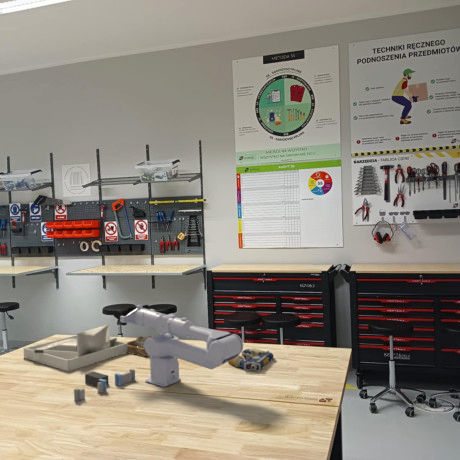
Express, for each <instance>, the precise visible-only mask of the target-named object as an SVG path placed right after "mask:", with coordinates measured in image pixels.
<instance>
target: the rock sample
mask: <svg viewBox="0 0 460 460" xmlns="http://www.w3.org/2000/svg"><path fill="white" fill-rule="evenodd" d="M147 338H149V337H148V336H142V335H139V336H137V338H136V339H135V340H136V342H135V344H136V345H137V346H138V347H139V348H144V349H145V347H144V344H145V340H146V339H147Z"/></svg>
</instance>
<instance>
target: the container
mask: <svg viewBox="0 0 460 460" xmlns="http://www.w3.org/2000/svg"><path fill="white" fill-rule="evenodd" d="M110 334H111V333H110V324H105V325H102V326H98V327H96V328H95V327H94V328H91V329H89V330H85V331H83V332H82V331H81V332H78V333H76V335H77V339H72V338H70V339H65V340H62V341H59V342H55V343H52V344H49V345H46V346H42V347H39V348H36V349H34V350H33V360H38V361H40V359H39V353H45V354H49V355H52V356H56V357H59V358H63V359H67V360H69V359H73V358H76V357H80V356H83V355H87V354H90V353H94V352H97V351H101V350H104V349H108V348H111V347H114V346H115V340H116V341H118V338H117V337H111V336H110Z"/></svg>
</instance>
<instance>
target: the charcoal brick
mask: <svg viewBox="0 0 460 460" xmlns="http://www.w3.org/2000/svg"><path fill="white" fill-rule="evenodd" d="M99 379H104V380H106V386H108V385H109V375H107V374H104V373H101V372H97V371H90V372H87V373H85V374H84V381H85V382H84V383H85V384H87V385H91V386H93V387H97V383H99V382H101V381H99Z"/></svg>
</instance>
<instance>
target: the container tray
mask: <svg viewBox="0 0 460 460" xmlns="http://www.w3.org/2000/svg"><path fill="white" fill-rule="evenodd" d="M70 338H72V339H77V334H76V335H71V336H67V337H64V338H59V339H56V340H51V341H46V342H43V343H40V344H34V345H31V346H26V347H23V358H24V359H26V360H30V361H33V362H36V363H40V364H43V365H45V364H46V366H49V367H53V368H56V369H58V368H59V370H62V371H66V372H71V371H74V370H77V369H80V368H81V369H82V368H84V367H86V366H90V365H93V364H96V363H95V362H97V363H100V362H103V361H106V360H109V359H112V358H111V357H113V358H115V357H114V356H116V357H118V356H117V355H119V356H121V355H120V354H122V355H124V354H123V353H125V354H128V353H127V352H128V343H127V342H125V341H120V340H117V341H116V340H115V346H114V347H111V348H108V349H104V350H101V351H97V352H94V353H90V354H87V355H83V356H80V357H76V358H73V359H69V360H67V359H63V358H59V357H56V356H52V355H49V354H45V353H39V359H40V361H38V360H33V350H34V349H36V348H39V347H42V346H46V345H49V344H52V343H55V342H59V341H62V340H65V339H70ZM108 358H109V359H108ZM105 359H106V360H105ZM102 360H103V361H102ZM99 361H100V362H99Z"/></svg>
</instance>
